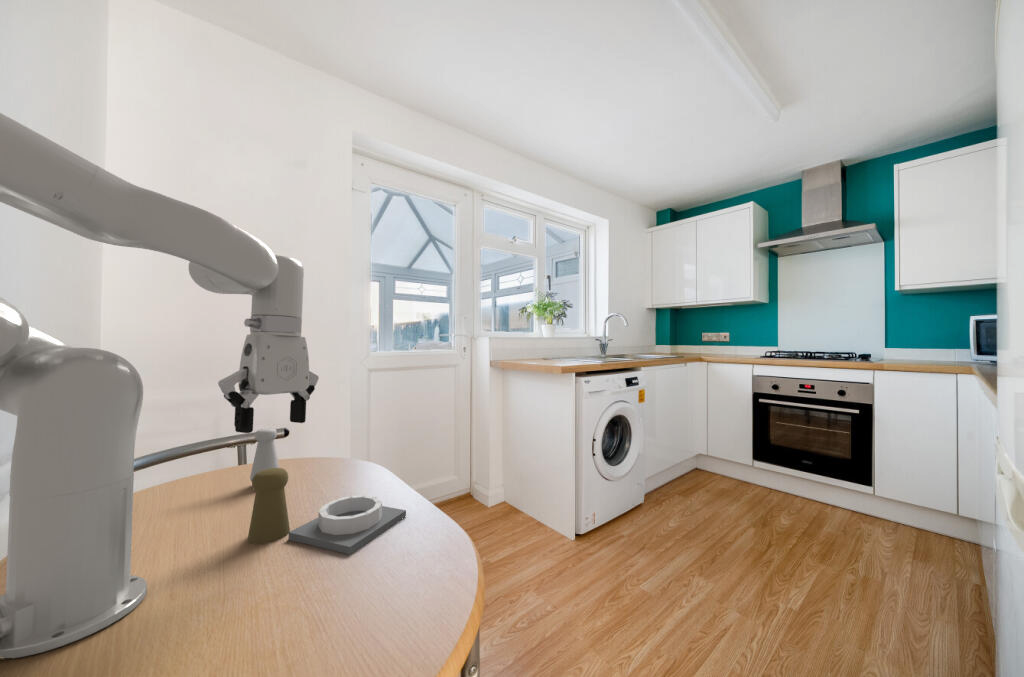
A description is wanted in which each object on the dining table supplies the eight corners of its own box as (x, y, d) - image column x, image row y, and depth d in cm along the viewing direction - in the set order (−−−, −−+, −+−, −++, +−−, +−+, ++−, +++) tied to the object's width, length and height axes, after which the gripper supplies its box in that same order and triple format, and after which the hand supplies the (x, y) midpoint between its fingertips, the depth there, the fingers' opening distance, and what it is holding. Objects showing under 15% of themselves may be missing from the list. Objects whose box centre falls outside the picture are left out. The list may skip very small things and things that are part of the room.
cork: (297, 527, 66) (299, 464, 66) (272, 545, 60) (274, 476, 60) (266, 525, 67) (267, 463, 67) (238, 543, 61) (239, 474, 61)
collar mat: (350, 554, 57) (350, 530, 57) (288, 539, 62) (288, 517, 62) (405, 516, 70) (406, 496, 70) (351, 506, 75) (352, 487, 75)
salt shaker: (284, 484, 87) (285, 428, 88) (257, 491, 82) (258, 432, 83) (272, 479, 90) (273, 425, 91) (245, 486, 85) (246, 429, 86)
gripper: (240, 323, 56) (234, 439, 55) (332, 331, 72) (329, 420, 71) (207, 324, 58) (201, 434, 57) (303, 331, 74) (300, 417, 74)
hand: (272, 426), depth 64 cm, fingers open, 9 cm apart
